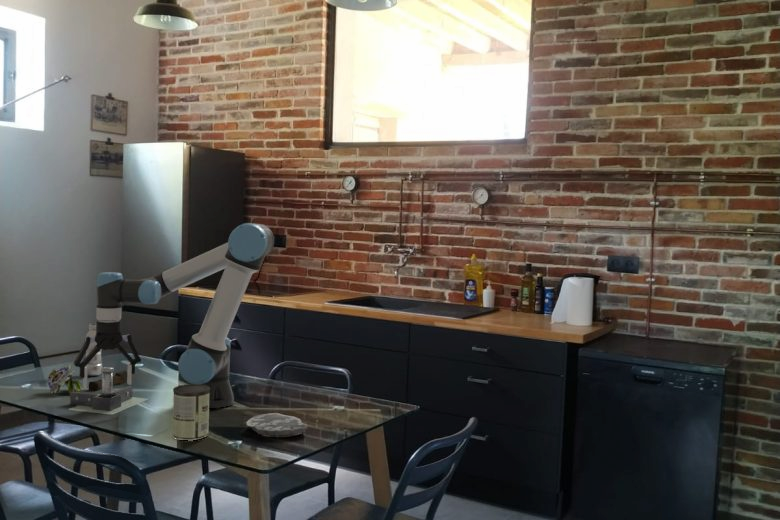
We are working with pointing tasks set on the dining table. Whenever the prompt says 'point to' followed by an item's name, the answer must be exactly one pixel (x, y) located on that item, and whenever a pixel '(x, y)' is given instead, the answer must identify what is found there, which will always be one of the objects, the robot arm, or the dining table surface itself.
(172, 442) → the dining table surface
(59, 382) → the passion flower
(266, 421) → the brain slice
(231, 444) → the dining table surface
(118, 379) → the hand tool
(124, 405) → the mat
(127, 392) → the bolted dark bar
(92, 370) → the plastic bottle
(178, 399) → the coffee can
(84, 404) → the hinge base
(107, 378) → the hinge pin
